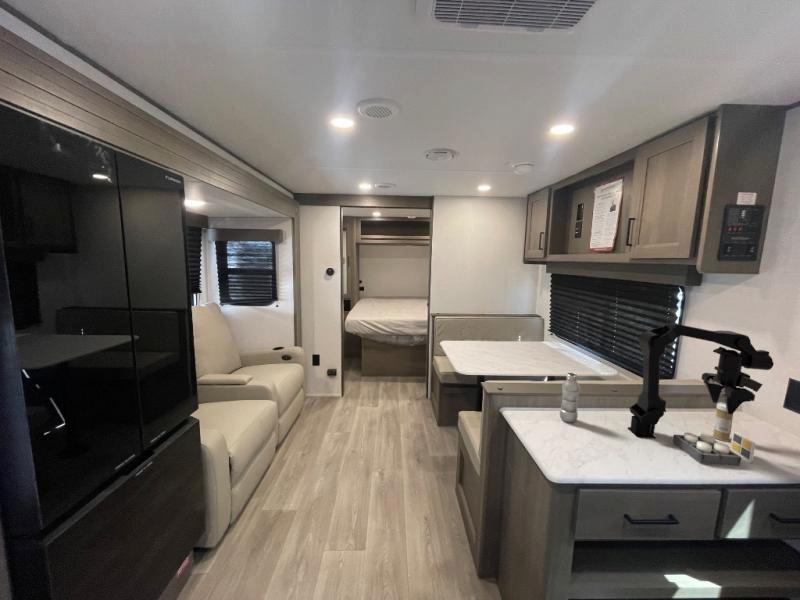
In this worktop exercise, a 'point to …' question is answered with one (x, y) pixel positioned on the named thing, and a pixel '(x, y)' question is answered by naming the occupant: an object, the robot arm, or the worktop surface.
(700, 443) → the button
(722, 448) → the button
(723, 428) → the sprinkles bottle
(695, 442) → the button
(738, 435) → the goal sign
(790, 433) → the worktop surface
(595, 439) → the worktop surface
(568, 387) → the plastic bottle
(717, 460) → the button board
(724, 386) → the robot arm
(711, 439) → the button
